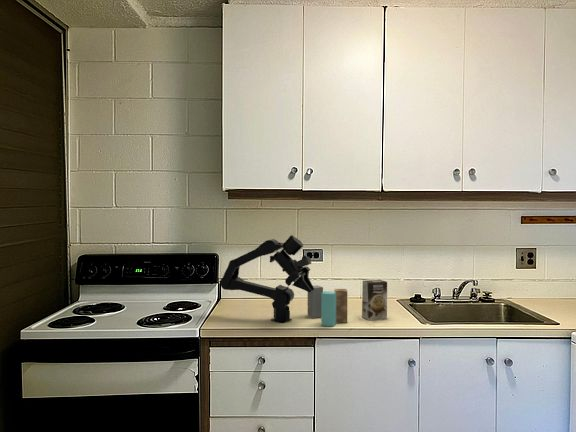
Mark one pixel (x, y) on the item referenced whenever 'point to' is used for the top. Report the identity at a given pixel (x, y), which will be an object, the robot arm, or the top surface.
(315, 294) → the charcoal block
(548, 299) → the top surface
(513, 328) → the top surface
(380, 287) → the coffee box
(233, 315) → the top surface
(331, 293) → the teal block
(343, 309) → the walnut block
